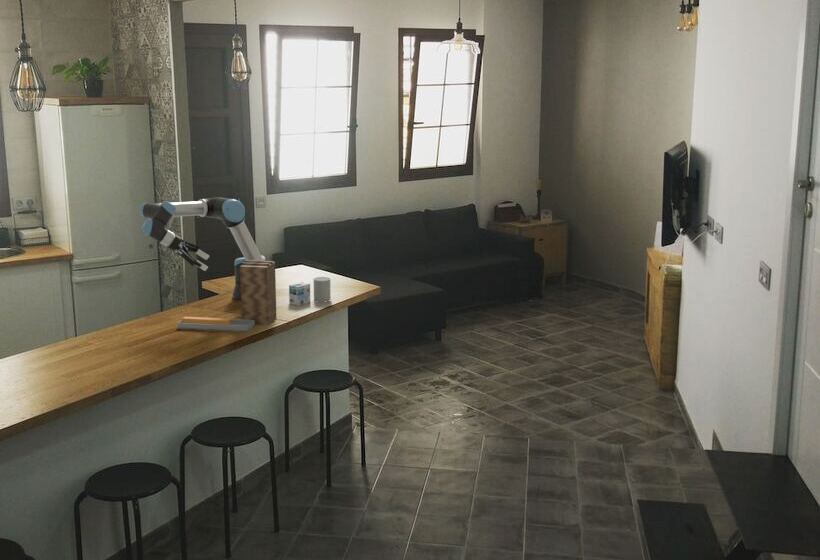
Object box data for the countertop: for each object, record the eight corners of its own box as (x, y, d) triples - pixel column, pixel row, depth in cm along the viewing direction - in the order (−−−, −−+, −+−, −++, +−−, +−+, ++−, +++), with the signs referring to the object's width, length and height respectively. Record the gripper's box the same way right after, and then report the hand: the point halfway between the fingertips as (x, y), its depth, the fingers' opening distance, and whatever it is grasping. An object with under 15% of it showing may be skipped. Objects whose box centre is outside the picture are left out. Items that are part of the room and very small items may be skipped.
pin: (182, 325, 438) (182, 318, 437) (185, 323, 441) (184, 316, 440) (228, 327, 434) (228, 320, 434) (230, 325, 438) (230, 318, 437)
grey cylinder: (311, 298, 496) (311, 277, 493) (328, 297, 499) (327, 276, 497) (316, 302, 487) (315, 281, 485) (332, 301, 491) (332, 280, 488)
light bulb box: (297, 305, 481) (297, 286, 478) (288, 304, 484) (288, 285, 482) (311, 302, 489) (310, 283, 486) (302, 300, 493) (301, 281, 490)
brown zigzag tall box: (241, 324, 444) (239, 264, 437) (250, 316, 457) (248, 258, 450) (268, 325, 442) (266, 265, 435) (276, 318, 455) (274, 259, 448)
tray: (177, 328, 434) (177, 323, 433) (186, 322, 445) (186, 316, 445) (247, 332, 429) (247, 326, 428) (255, 325, 441) (254, 320, 440)
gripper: (169, 236, 446) (204, 258, 455) (164, 256, 424) (201, 279, 432) (177, 225, 445) (212, 248, 453) (173, 245, 422) (210, 268, 431)
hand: (207, 263), depth 443 cm, fingers open, 13 cm apart
